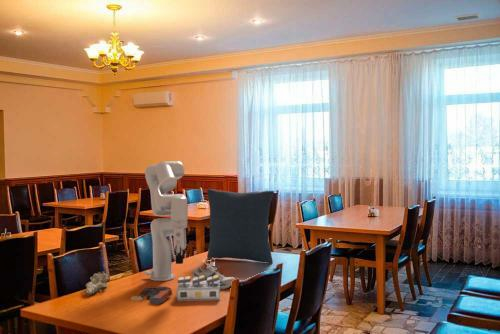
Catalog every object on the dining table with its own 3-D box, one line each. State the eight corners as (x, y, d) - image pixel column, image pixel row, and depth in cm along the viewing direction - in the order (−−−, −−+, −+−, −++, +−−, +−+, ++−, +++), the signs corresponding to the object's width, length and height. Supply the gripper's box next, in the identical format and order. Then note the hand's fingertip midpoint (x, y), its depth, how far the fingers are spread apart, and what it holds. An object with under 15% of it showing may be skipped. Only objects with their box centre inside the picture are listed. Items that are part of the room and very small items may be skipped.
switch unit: (176, 301, 216) (176, 286, 215) (179, 293, 228) (179, 278, 228) (219, 300, 217) (219, 285, 216) (220, 292, 229) (219, 277, 228)
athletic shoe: (234, 290, 232) (234, 264, 234) (188, 288, 236) (189, 263, 239) (238, 289, 242) (239, 264, 244) (194, 287, 246) (195, 263, 248)
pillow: (278, 260, 293) (278, 188, 292) (270, 266, 278) (270, 191, 277) (212, 255, 308) (212, 187, 306) (202, 261, 293) (201, 189, 291)
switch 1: (178, 283, 219) (177, 280, 219) (179, 280, 224) (178, 277, 224) (190, 281, 219) (190, 278, 219) (191, 279, 224) (190, 275, 224)
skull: (117, 275, 239) (102, 263, 239) (95, 296, 222) (78, 282, 223) (110, 287, 243) (95, 275, 243) (88, 308, 226) (71, 295, 227)
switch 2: (192, 283, 219) (192, 280, 219) (193, 281, 224) (192, 278, 224) (204, 280, 220) (204, 277, 220) (205, 277, 224) (204, 274, 224)
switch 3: (207, 283, 220) (206, 280, 220) (207, 280, 225) (206, 277, 225) (219, 280, 220) (218, 277, 220) (219, 277, 225) (218, 274, 225)
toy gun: (162, 306, 212) (179, 292, 226) (159, 294, 212) (177, 281, 225) (129, 306, 219) (147, 293, 233) (126, 295, 219) (145, 283, 232)
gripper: (186, 226, 213) (186, 267, 215) (188, 220, 228) (188, 259, 230) (169, 226, 213) (169, 267, 214) (172, 220, 228) (173, 259, 229)
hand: (179, 263), depth 222 cm, fingers closed
